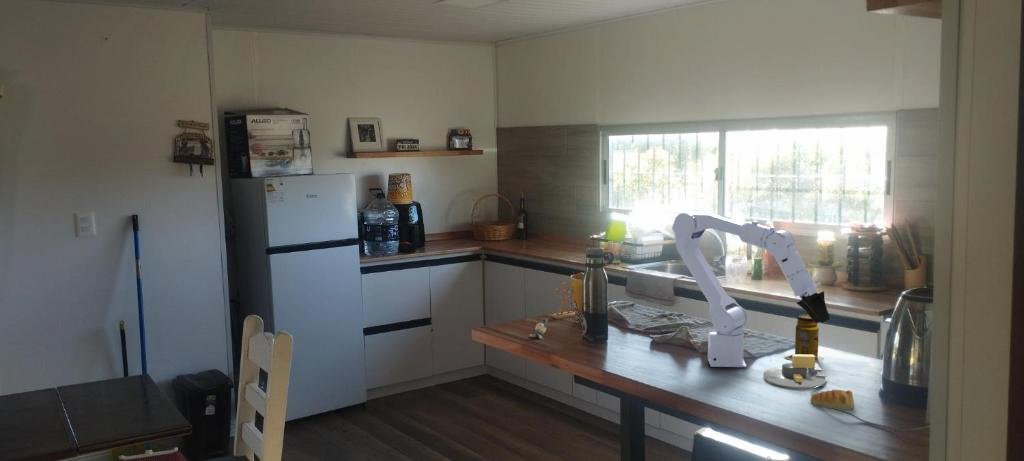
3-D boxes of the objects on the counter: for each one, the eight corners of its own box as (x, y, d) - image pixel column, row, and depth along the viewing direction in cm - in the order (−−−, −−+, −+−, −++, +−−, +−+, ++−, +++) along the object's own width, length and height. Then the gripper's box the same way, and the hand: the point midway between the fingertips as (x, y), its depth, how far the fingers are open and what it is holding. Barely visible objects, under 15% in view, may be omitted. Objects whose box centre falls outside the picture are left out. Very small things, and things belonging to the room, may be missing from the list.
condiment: (824, 358, 218) (825, 316, 217) (805, 364, 214) (806, 321, 212) (802, 352, 224) (803, 312, 223) (783, 358, 220) (784, 316, 218)
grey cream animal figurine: (540, 333, 253) (540, 315, 252) (552, 337, 250) (553, 319, 249) (528, 336, 250) (529, 318, 248) (541, 340, 246) (542, 322, 245)
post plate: (769, 388, 195) (769, 375, 194) (759, 369, 210) (759, 358, 209) (834, 389, 193) (835, 376, 192) (819, 371, 207) (820, 358, 207)
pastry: (812, 409, 181) (812, 393, 180) (809, 399, 187) (809, 384, 187) (856, 411, 178) (856, 395, 178) (851, 402, 185) (851, 386, 184)
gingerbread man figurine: (573, 313, 279) (572, 280, 277) (579, 315, 275) (578, 282, 274) (551, 316, 275) (551, 283, 273) (557, 319, 271) (556, 285, 270)
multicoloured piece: (787, 381, 195) (787, 362, 195) (779, 370, 204) (780, 351, 204) (819, 382, 194) (820, 362, 193) (810, 370, 203) (811, 352, 203)
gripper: (816, 263, 194) (843, 313, 191) (806, 269, 208) (831, 315, 205) (789, 276, 195) (816, 326, 192) (781, 280, 209) (806, 327, 206)
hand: (822, 321), depth 198 cm, fingers open, 7 cm apart
